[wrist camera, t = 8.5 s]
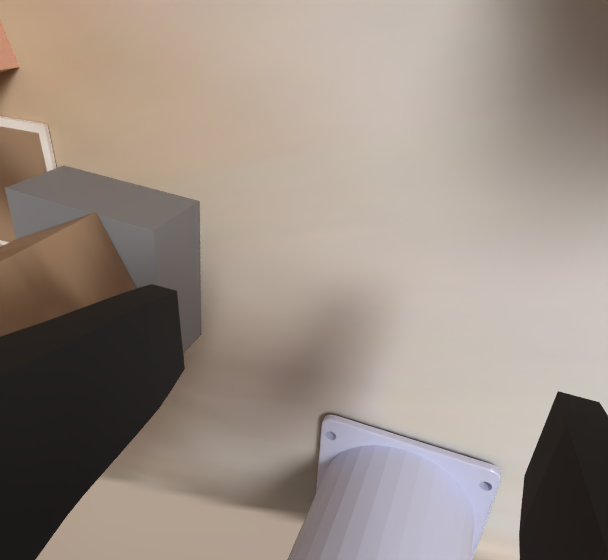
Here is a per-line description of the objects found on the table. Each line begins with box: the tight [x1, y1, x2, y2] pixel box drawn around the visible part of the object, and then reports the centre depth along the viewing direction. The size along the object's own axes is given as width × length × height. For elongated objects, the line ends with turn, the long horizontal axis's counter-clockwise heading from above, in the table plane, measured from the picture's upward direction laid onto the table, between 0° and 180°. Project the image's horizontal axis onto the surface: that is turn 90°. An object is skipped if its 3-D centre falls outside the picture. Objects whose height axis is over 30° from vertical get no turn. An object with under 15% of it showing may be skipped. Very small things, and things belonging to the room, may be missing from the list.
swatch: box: [0, 116, 57, 245], centre depth 25 cm, size 7×7×1 cm
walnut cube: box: [0, 212, 136, 336], centre depth 19 cm, size 5×5×5 cm
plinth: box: [5, 166, 201, 353], centre depth 23 cm, size 7×7×4 cm
